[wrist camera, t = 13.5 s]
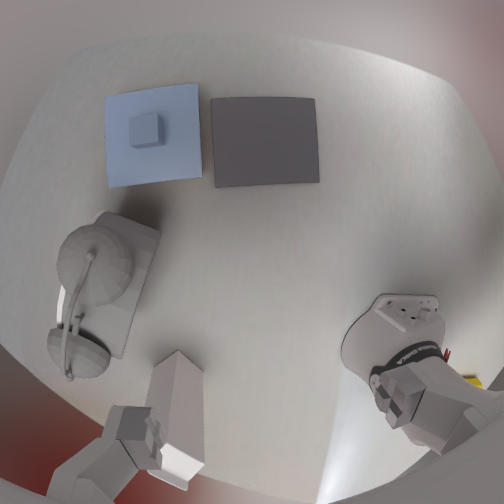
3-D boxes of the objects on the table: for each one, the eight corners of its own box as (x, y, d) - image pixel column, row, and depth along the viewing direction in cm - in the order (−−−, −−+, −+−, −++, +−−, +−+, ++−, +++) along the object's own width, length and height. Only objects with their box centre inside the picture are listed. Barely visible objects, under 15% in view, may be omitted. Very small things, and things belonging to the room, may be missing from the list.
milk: (178, 349, 42) (164, 464, 21) (204, 372, 44) (207, 484, 23) (153, 367, 43) (130, 477, 21) (178, 388, 44) (171, 496, 23)
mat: (313, 99, 35) (314, 98, 35) (317, 182, 38) (319, 182, 38) (210, 99, 34) (210, 98, 33) (215, 187, 37) (215, 187, 36)
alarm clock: (120, 196, 35) (27, 224, 14) (178, 219, 37) (137, 275, 16) (91, 299, 38) (21, 390, 17) (141, 320, 40) (100, 430, 19)
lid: (198, 86, 28) (196, 72, 24) (202, 177, 31) (201, 177, 27) (108, 100, 27) (94, 90, 23) (111, 188, 30) (96, 190, 26)
